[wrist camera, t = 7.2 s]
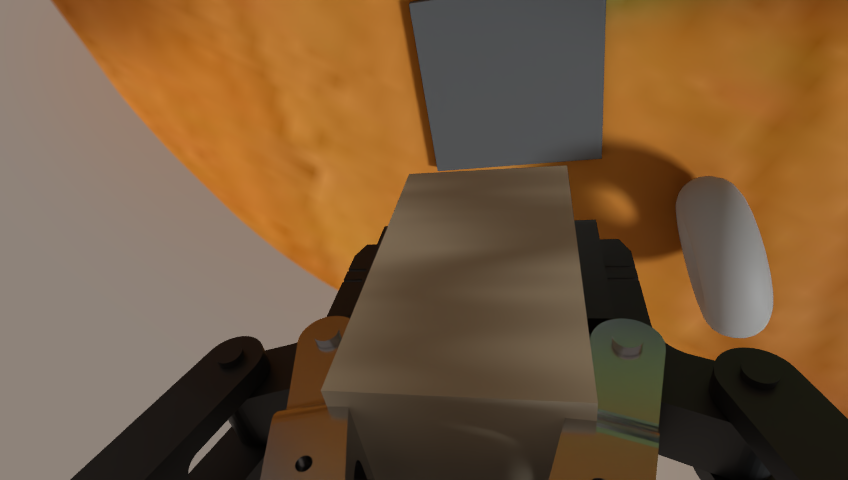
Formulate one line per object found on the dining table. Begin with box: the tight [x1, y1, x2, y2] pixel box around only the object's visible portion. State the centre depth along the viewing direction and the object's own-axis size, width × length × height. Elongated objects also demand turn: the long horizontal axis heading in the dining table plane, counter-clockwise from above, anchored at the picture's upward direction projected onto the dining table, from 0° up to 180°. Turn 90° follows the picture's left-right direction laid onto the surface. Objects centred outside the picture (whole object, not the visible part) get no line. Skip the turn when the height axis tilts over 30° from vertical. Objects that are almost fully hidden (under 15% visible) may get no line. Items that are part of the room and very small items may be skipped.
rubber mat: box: [409, 0, 606, 171], centre depth 32 cm, size 11×11×1 cm
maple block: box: [321, 165, 598, 480], centre depth 11 cm, size 4×4×7 cm
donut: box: [676, 176, 773, 338], centre depth 31 cm, size 10×3×10 cm, turn 23°
